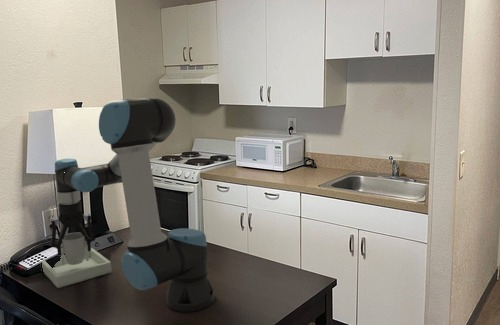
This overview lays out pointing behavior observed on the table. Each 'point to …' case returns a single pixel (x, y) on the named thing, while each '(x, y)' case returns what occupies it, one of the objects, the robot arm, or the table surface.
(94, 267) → the bin
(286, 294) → the table surface
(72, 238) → the cup
